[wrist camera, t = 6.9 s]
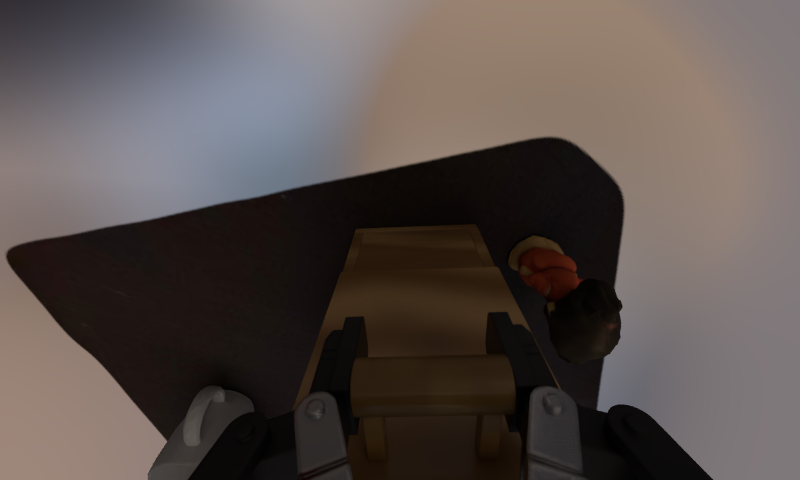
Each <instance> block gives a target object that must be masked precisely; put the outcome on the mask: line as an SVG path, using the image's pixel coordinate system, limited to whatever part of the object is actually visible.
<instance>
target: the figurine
mask: <svg viewBox="0 0 800 480" xmlns="http://www.w3.org/2000/svg"><path fill="white" fill-rule="evenodd" d="M508 264H509V267H510V268H512V269H513V270H516V271H518V273H519V275H520V277H521V278H522V280H523V281H524V283H526V284H527V285H528V286H531V287H534V289H536V291H537V292H538V293H539V294H541V295H543V296H544V298H545V299H546V300H547V304H546V305H545V307H544V314H545V316H546V318H547V322H548V324H549V333H550V339H551V342H552V343H553V345H554V347H555V349H556V351H557V353H558V356H559V357H560V358H561V359H563V360H565V361H566V362H568V363H570V362H573V363H574V364H583V363H584V362H586V361H588V360H593V359H598V358H602V357H605V356H607V355H608V354H610V353H611V352H612V350H613V349H614V347H615V346H616V345H617V344H618V341H619V339H620V329H621V319H620V314H619V311H620V310H621V309H622V304H621V301H620V300H619V299H618V298H617V295H616V292H615V289H614V288H613V287H612V286H611V285H609V284H607V283H606V282H603V281H599V280H595V279H591V278H589V279H586V280H582V279H579V278H577V275H576V274H575V271H576V264H575V262H574V261H573V260H572V259H571V258H570V257H568V256H566V255H564V253H563V251H562V250H561V247H560V246H559V245H558V244H557V243H555V242H553V241H552V240H548V239H546V238H545V237H539V236H535V235H533V236H531V237H529V238H526V240H523V241H521V242H519V243H518V244H517V245H516V246H515V247H514V248H513V250H512V251H511V253H510V256H509V260H508Z"/></svg>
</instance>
